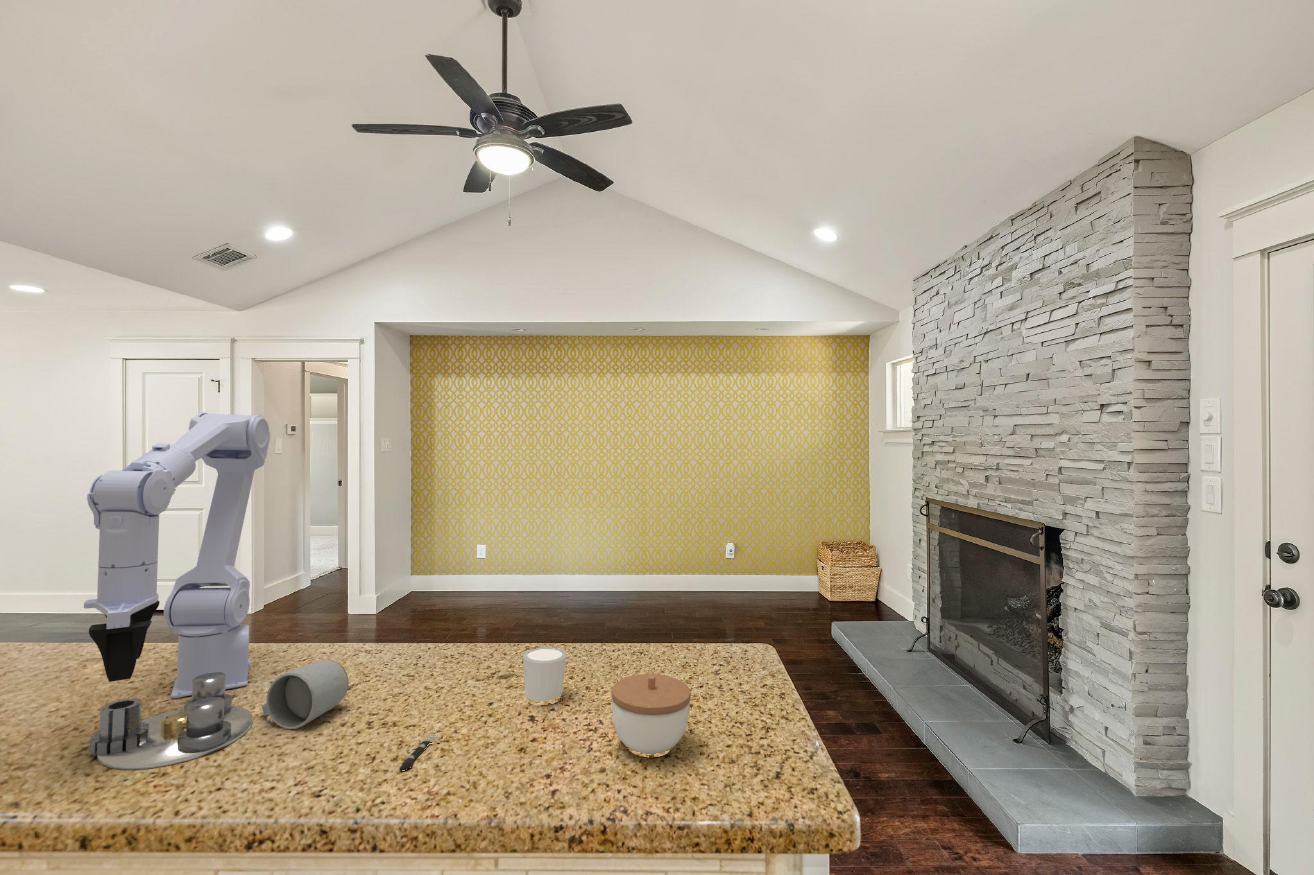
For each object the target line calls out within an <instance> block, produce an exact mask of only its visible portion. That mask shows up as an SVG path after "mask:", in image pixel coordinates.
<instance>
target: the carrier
mask: <svg viewBox="0 0 1314 875" xmlns="http://www.w3.org/2000/svg"><path fill="white" fill-rule="evenodd" d="M225 682H226V674H225V673H222V672H213V673H207V674H203V675H200V676H197V677H195V678H194V679H193V680H192V695H191V700H189V701H187V702H186V703H185V704H184V705H183V708H181V709H175V710H172V711H168V712H164V713H160V714H157V715H154V716H150V717H147V718H144V719H141V722H142V723H143V722H145V723H147V724H149V737H148V740H146V742H145V743H143V744H142V745H140V746H137V748H134V749H131V750H129V751H124V750H123V751H122V753H118V754H113V755H110V754H108V755H106V756H97V755H96V756H97V762H99V764H100V765H102V766H103V767H107V768H109V769H114V770H123V771H130V770H131V771H134V770H135V771H136V770H138V771H139V770H149V769H157V768H163V767H167V766H172V765H177V764H178V765H179V764H181V763H186V762H188V761H192V760H195V759H199V758H201V757H204V756H207V755H209V754H212V753H215V752H217V751H219V750H221V749H224V748H225V747H228V746H229V745H231V744H233V743H234V742H236V741H238V740H239V739H241V738H242V737H243V736H245V735H246V734H247V733H248V732H249V730H250V729H251V728H252V725H253V722H254V721H253V720H254V718H253V714H252V712H251V711H250V710H248V709H246V708H244V707H240V706H238V705H237V706H236V705H233V696H232V695H231V694H227V693H226V689H225Z"/></svg>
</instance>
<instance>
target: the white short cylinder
mask: <svg viewBox="0 0 1314 875" xmlns="http://www.w3.org/2000/svg"><path fill="white" fill-rule="evenodd" d="M522 659H523V660H522V661H523V674H524V678H523V679H524V695H525V698H526V697H527V698H528V699H530V700H534V701H539V702H541V701H549V700H553V699H556V698H557V697H560V695H561V694H562V695H563V688H564V680H565V678H564V677H565V671H566V664H567V652H566V651H565V650H563V649H561V648H557V647H548V646H547V647H537V648H532V649H529V650H528V651H526V652H524V653H523V654H522Z"/></svg>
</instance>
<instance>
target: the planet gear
mask: <svg viewBox="0 0 1314 875" xmlns="http://www.w3.org/2000/svg"><path fill="white" fill-rule="evenodd" d="M142 702H143V701H142V699H141V698H135V697H132V698H123V699H118V700H117V701H112V702H111V701H110V702H108V703H106V704H104V705H103V706H101V707H100V709H99V710H100V712H99V731H97V732H95V733H94V734H93V735H91V737H90V739H89V751H88V752H89V754H90V755H93V756H106V755H108V754H110V755H113V754H118V753H122V751H123V750H124V751H129V750H131V749H134V748H137V746H140V745H142V744H143V743H145V742H146V740H148V737H149V724H147V723H145V722H143V723H142V722H141V720H142Z"/></svg>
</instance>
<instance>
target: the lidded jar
mask: <svg viewBox="0 0 1314 875" xmlns="http://www.w3.org/2000/svg"><path fill="white" fill-rule="evenodd" d="M691 691H692V690H691V689H690V687H689V686H688V684H686V683H685V682H684V681H682V680H680V679H677V678H676V677H672V676H668V675H665V674H664V675H663V674H656V673H647V674H646V673H642V674H634V675H633V674H632V675H629V676H626V677H623V678H620V679H619V680H617V681H616V682H615V684H613V686H612V688H611V699H612V702H611V703H612V704H611V714H612V721H613V726H614V730H615V732H616V734H617V736H618V738H619V740H620V741H621V742H622V743H623V744H624V746H626V748H627V747H628V748H629V749H631V750H633V751H636V752H641V753H646V754H656V753H662V752H665V751H668V750H670V749H671V750H672V749H673V748H674V747H675V746H676V745H678V743H679V742H680V741H681V739H682V738H683V736H684V734H685V732H686V729H687V725H688V721H689V716H690V702H691V697H692V696H691V695H692V692H691ZM628 748H627V749H628Z"/></svg>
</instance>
